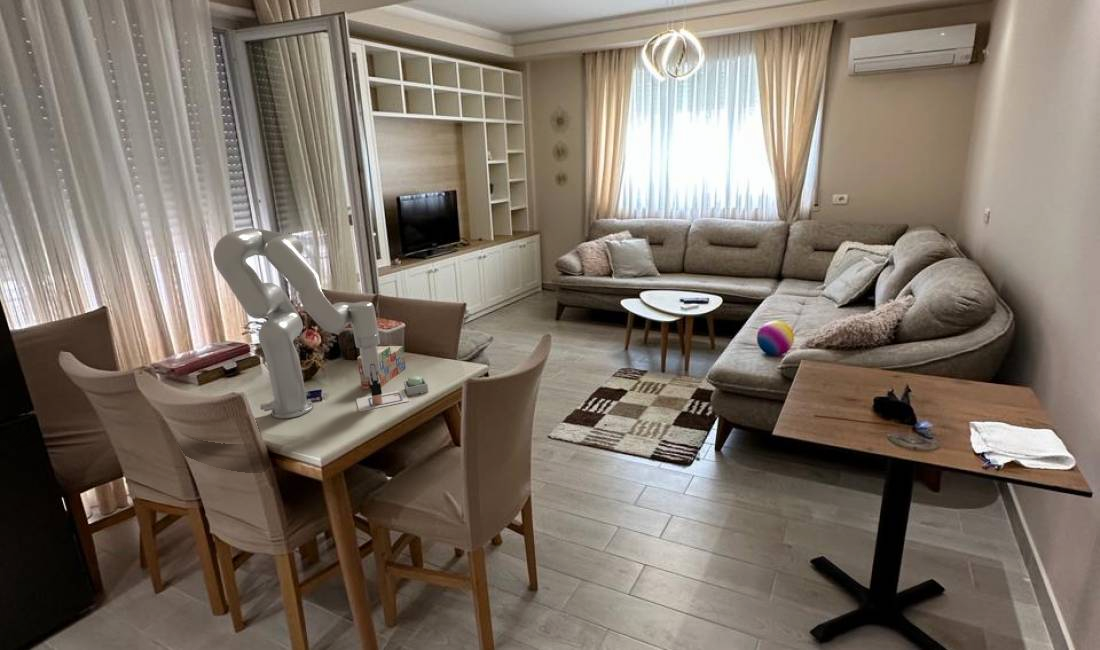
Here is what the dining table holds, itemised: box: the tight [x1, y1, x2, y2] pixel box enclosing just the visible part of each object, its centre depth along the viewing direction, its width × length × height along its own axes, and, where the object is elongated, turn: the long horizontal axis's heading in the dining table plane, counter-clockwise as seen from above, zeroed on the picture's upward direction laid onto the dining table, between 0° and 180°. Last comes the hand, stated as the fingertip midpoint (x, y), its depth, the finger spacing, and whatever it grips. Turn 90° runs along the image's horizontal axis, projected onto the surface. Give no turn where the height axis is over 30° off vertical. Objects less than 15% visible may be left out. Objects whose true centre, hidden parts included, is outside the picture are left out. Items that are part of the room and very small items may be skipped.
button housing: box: [403, 377, 429, 397], centre depth 200 cm, size 7×7×3 cm
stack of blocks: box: [356, 345, 407, 391], centre depth 212 cm, size 21×6×12 cm, turn 166°
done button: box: [407, 375, 423, 387], centre depth 200 cm, size 5×5×3 cm
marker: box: [369, 373, 383, 405], centre depth 189 cm, size 3×3×12 cm
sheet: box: [355, 389, 410, 412], centre depth 194 cm, size 16×11×1 cm
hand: (376, 392), depth 190 cm, fingers closed on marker, 3 cm apart
